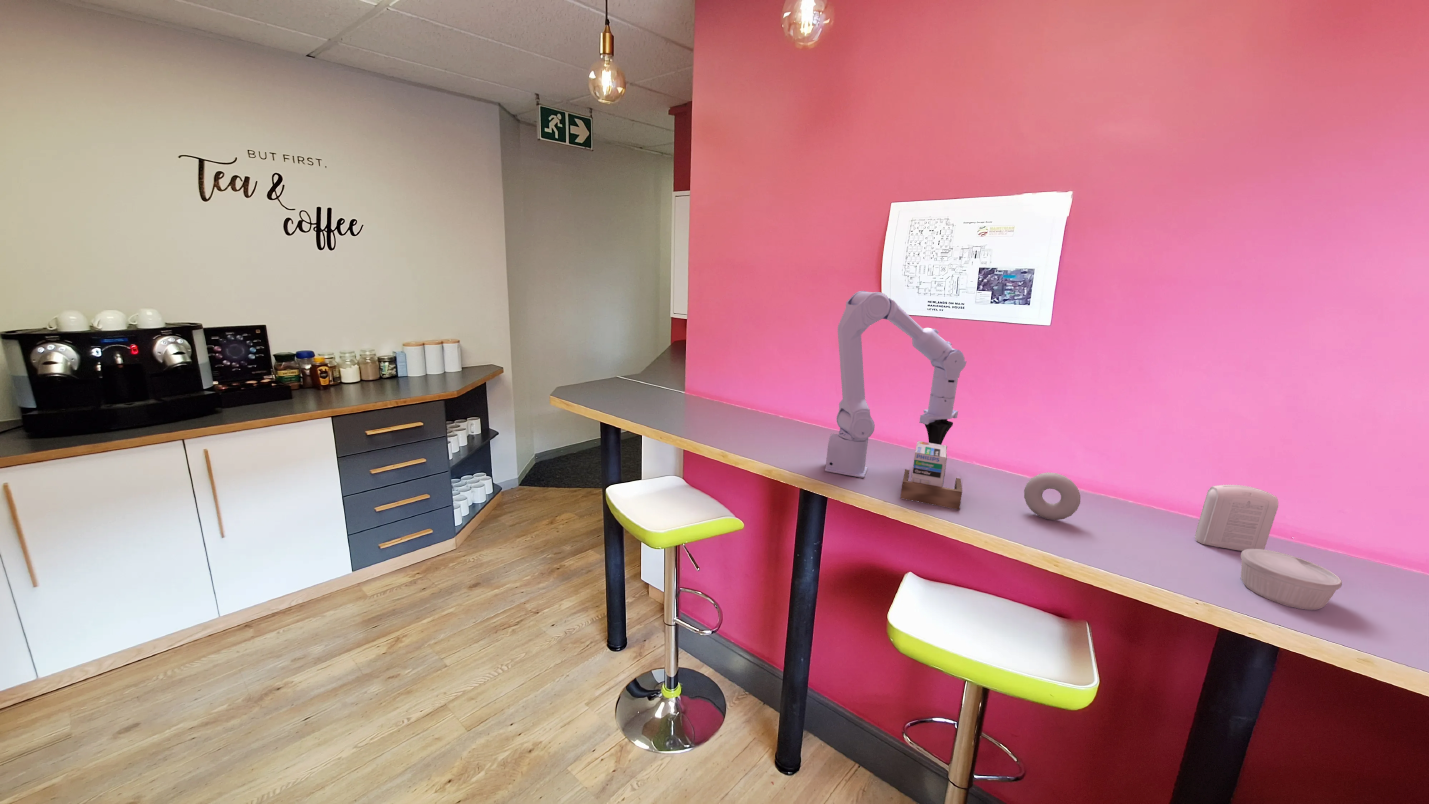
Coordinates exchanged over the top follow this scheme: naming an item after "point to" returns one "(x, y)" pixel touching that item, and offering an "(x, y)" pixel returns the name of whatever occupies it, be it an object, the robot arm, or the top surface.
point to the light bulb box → (929, 463)
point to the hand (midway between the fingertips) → (934, 448)
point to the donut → (1048, 510)
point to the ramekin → (1288, 579)
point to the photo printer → (1236, 517)
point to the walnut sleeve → (932, 493)
